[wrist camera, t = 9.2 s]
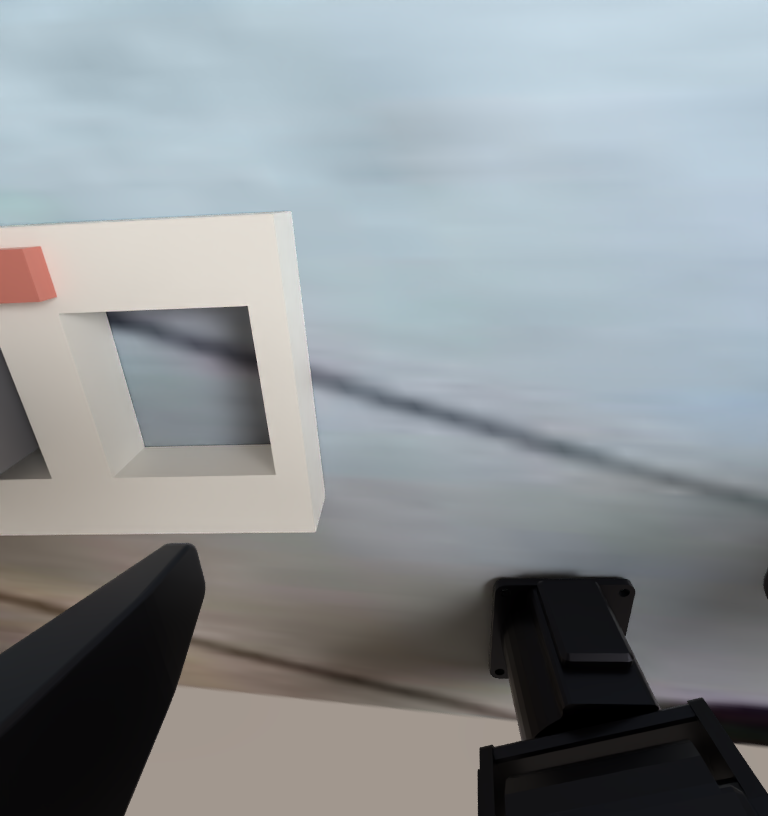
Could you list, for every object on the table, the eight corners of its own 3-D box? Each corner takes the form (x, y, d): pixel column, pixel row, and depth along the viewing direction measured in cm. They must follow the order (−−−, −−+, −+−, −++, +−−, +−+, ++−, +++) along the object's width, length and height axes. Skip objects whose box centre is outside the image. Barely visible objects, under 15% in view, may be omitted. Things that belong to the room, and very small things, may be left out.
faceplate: (325, 496, 22) (312, 545, 19) (-49, 502, 23) (-118, 549, 20) (291, 211, 17) (265, 214, 14) (-183, 235, 18) (-304, 244, 15)
